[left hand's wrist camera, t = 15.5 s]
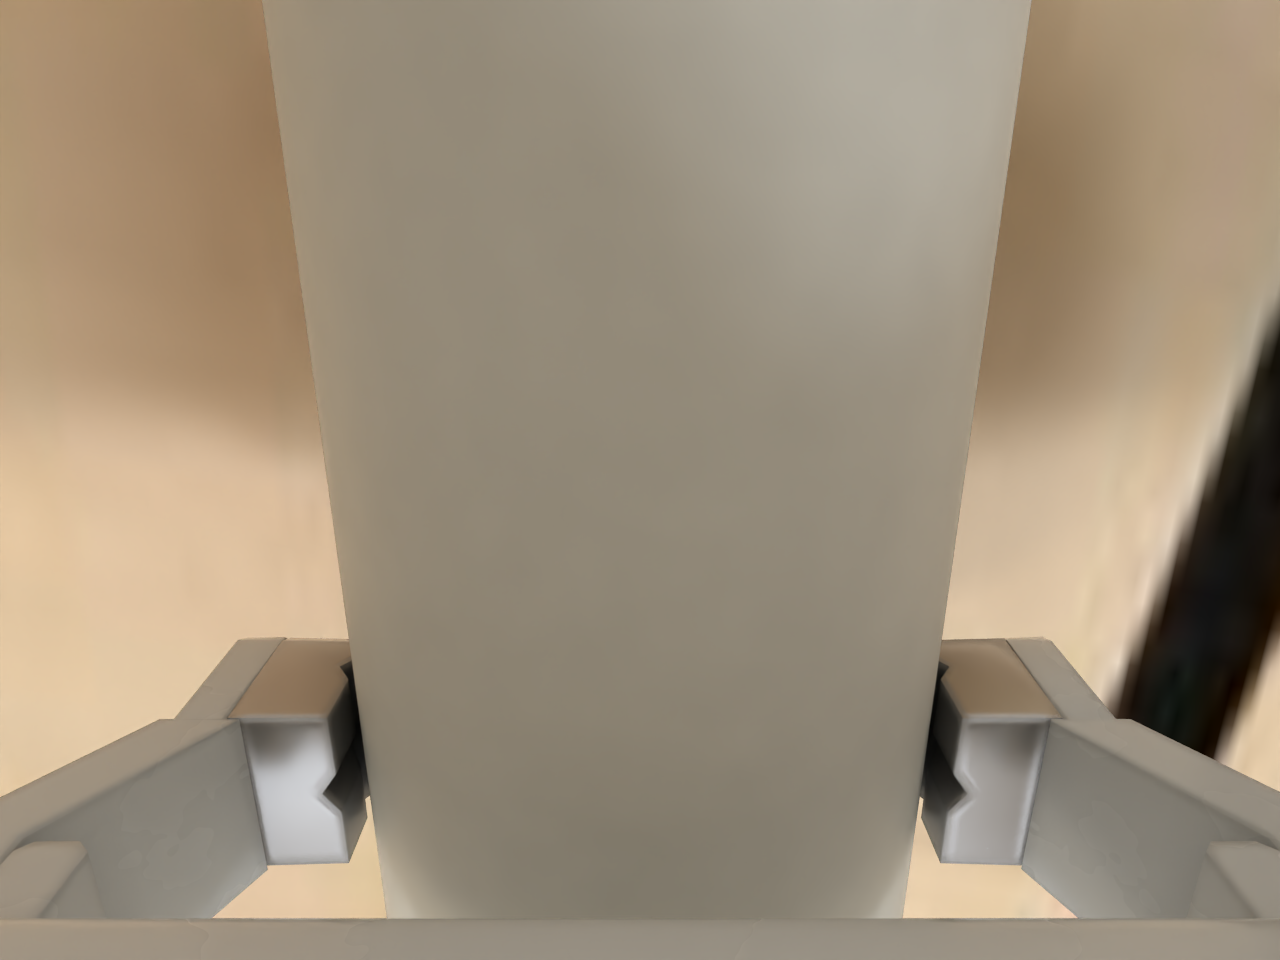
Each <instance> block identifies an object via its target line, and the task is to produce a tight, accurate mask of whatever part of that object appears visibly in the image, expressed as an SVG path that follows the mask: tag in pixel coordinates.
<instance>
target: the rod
mask: <svg viewBox="0 0 1280 960" xmlns="http://www.w3.org/2000/svg"><path fill="white" fill-rule="evenodd" d="M1031 2H1032V0H262V5H263V12H264V20H265V27H266V34H267V42H268V49H269V56H270V64H271V71H272V78H273V86H274V93H275V100H276V108H277V115H278V122H279V130H280V137H281V144H282V152H283V159H284V166H285V174H286V181H287V188H288V196H289V203H290V211H291V218H292V225H293V233H294V240H295V247H296V255H297V262H298V269H299V277H300V284H301V291H302V299H303V306H304V313H305V321H306V328H307V335H308V343H309V350H310V357H311V365H312V372H313V379H314V387H315V394H316V401H317V409H318V416H319V423H320V431H321V438H322V445H323V453H324V460H325V467H326V475H327V482H328V489H329V497H330V504H331V511H332V519H333V526H334V533H335V541H336V548H337V556H338V563H339V570H340V578H341V585H342V592H343V600H344V607H345V614H346V622H347V629H348V636H349V644H350V651H351V658H352V666H353V673H354V680H355V688H356V695H357V702H358V710H359V717H360V724H361V732H362V739H363V746H364V754H365V761H366V768H367V776H368V783H369V790H370V798H371V805H372V812H373V820H374V827H375V834H376V842H377V849H378V856H379V864H380V871H381V878H382V886H383V893H384V901H385V908H386V915H387V918H642V919H814V918H903V911H904V904H905V897H906V890H907V883H908V876H909V868H910V861H911V854H912V847H913V840H914V833H915V826H916V819H917V812H918V804H919V797H920V790H921V783H922V776H923V769H924V762H925V755H926V748H927V741H928V733H929V726H930V719H931V712H932V705H933V698H934V691H935V684H936V677H937V669H938V662H939V655H940V648H941V641H942V634H943V627H944V620H945V613H946V606H947V598H948V591H949V584H950V577H951V570H952V563H953V556H954V549H955V542H956V534H957V527H958V520H959V513H960V506H961V499H962V492H963V485H964V478H965V470H966V463H967V456H968V449H969V442H970V435H971V428H972V421H973V414H974V407H975V399H976V392H977V385H978V378H979V371H980V364H981V357H982V350H983V343H984V335H985V328H986V321H987V314H988V307H989V300H990V293H991V286H992V279H993V272H994V264H995V257H996V250H997V243H998V236H999V229H1000V222H1001V215H1002V208H1003V200H1004V193H1005V186H1006V179H1007V172H1008V165H1009V158H1010V151H1011V144H1012V137H1013V129H1014V122H1015V115H1016V108H1017V101H1018V94H1019V87H1020V80H1021V73H1022V65H1023V58H1024V51H1025V44H1026V37H1027V30H1028V23H1029V16H1030V9H1031Z"/></svg>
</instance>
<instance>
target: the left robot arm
mask: <svg viewBox="0 0 1280 960" xmlns="http://www.w3.org/2000/svg"><path fill="white" fill-rule="evenodd" d="M368 796H370V790H369V783H368V776H367V768H366V761H365V754H364V746H363V739H362V732H361V724H360V717H359V710H358V702H357V695H356V688H355V680H354V673H353V666H352V658H351V651H350V644H349V639H317V638H289V639H287V638H285V637H272V638H245V639H241V640H238V641H237V642H236V643H235V644H234V645H233V646H232V648H231V649H230V650H229V651H228V653H227V654H226V655H225V656H224V658H223V659H222V660H221V661H220V663H219V664H218V665H217V666H216V668H215V669H214V670H213V671H212V672H211V674H210V675H209V676H208V677H207V679H206V680H205V681H204V682H203V684H202V685H201V686H200V687H199V689H198V690H197V691H196V692H195V694H194V695H193V696H192V697H191V699H190V700H189V701H188V702H187V703H186V705H185V706H184V707H183V708H182V710H181V711H180V712H179V713H178V715H177V716H176V717H175V718H174V719H159V720H157V721H155V722H153V723H151V724H149V725H147V726H145V727H143V728H141V729H139V730H137V731H135V732H133V733H131V734H129V735H127V736H125V737H122V738H120V739H118V740H116V741H114V742H112V743H110V744H108V745H106V746H104V747H102V748H100V749H98V750H96V751H94V752H92V753H90V754H88V755H86V756H84V757H82V758H80V759H78V760H76V761H73V762H71V763H69V764H67V765H65V766H63V767H61V768H59V769H57V770H55V771H53V772H51V773H49V774H47V775H45V776H43V777H41V778H39V779H37V780H35V781H33V782H31V783H29V784H27V785H24V786H22V787H20V788H18V789H16V790H14V791H12V792H10V793H8V794H6V795H4V796H2V797H0V960H1280V792H1279V791H1277V790H1275V789H1272V788H1270V787H1268V786H1266V785H1264V784H1262V783H1260V782H1258V781H1256V780H1254V779H1252V778H1250V777H1248V776H1246V775H1244V774H1242V773H1240V772H1238V771H1235V770H1233V769H1231V768H1229V767H1227V766H1225V765H1223V764H1221V763H1219V762H1217V761H1215V760H1213V759H1211V758H1209V757H1207V756H1205V755H1203V754H1201V753H1198V752H1196V751H1194V750H1192V749H1190V748H1188V747H1186V746H1184V745H1182V744H1180V743H1178V742H1176V741H1174V740H1172V739H1170V738H1168V737H1166V736H1164V735H1162V734H1159V733H1157V732H1155V731H1153V730H1151V729H1149V728H1147V727H1145V726H1143V725H1141V724H1139V723H1137V722H1135V721H1133V720H1131V719H1115V717H1114V716H1113V715H1112V714H1111V713H1110V711H1109V710H1108V709H1107V708H1106V706H1105V705H1104V704H1103V703H1102V702H1101V700H1100V699H1099V698H1098V697H1097V696H1096V694H1095V693H1094V692H1093V691H1092V690H1091V688H1090V687H1089V686H1088V685H1087V683H1086V682H1085V681H1084V680H1083V679H1082V677H1081V676H1080V675H1079V674H1078V673H1077V671H1076V670H1075V669H1074V668H1073V667H1072V665H1071V664H1070V663H1069V662H1068V660H1067V659H1066V658H1065V657H1064V656H1063V654H1062V653H1061V652H1060V651H1059V650H1058V648H1057V647H1056V646H1055V645H1054V644H1053V642H1052V641H1050V640H1048V639H1046V638H1043V637H1029V638H1001V639H961V640H942V641H941V648H940V655H939V662H938V669H937V677H936V684H935V691H934V698H933V705H932V712H931V719H930V726H929V733H928V741H927V748H926V755H925V762H924V769H923V776H922V783H921V790H920V797H922V798H923V799H924V800H923V808H922V816H921V818H922V821H923V823H924V825H925V828H926V830H927V832H928V835H929V837H930V839H931V842H932V844H933V847H934V849H935V851H936V854H937V856H938V858H939V861H940V863H957V864H994V865H1022V868H1021V869H1022V870H1023V871H1024V872H1025V873H1027V874H1028V875H1029V876H1030V877H1031V878H1032V879H1034V880H1035V881H1036V882H1037V883H1038V884H1039V885H1041V886H1042V887H1043V888H1044V889H1045V890H1046V891H1048V892H1049V893H1050V894H1051V895H1052V896H1053V897H1055V898H1056V899H1057V900H1058V901H1059V902H1060V903H1061V904H1063V905H1064V906H1065V907H1066V908H1067V909H1068V910H1070V911H1071V912H1072V913H1073V914H1074V915H1075V916H1077V917H1078V918H814V919H642V918H212V917H213V916H215V915H216V914H217V913H218V912H219V911H220V910H222V909H223V908H224V907H225V906H226V905H227V904H228V903H230V902H231V901H232V900H233V899H234V898H235V897H237V896H238V895H239V894H240V893H241V892H242V891H243V890H245V889H246V888H247V887H248V886H249V885H250V884H252V883H253V882H254V881H255V880H256V879H257V878H258V877H260V876H261V875H262V874H263V873H264V872H265V871H267V869H268V868H267V865H294V864H330V863H349V861H350V859H351V856H352V854H353V851H354V849H355V847H356V844H357V842H358V839H359V837H360V834H361V832H362V829H363V827H364V824H365V822H366V820H367V811H366V803H365V798H367V797H368Z"/></svg>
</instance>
